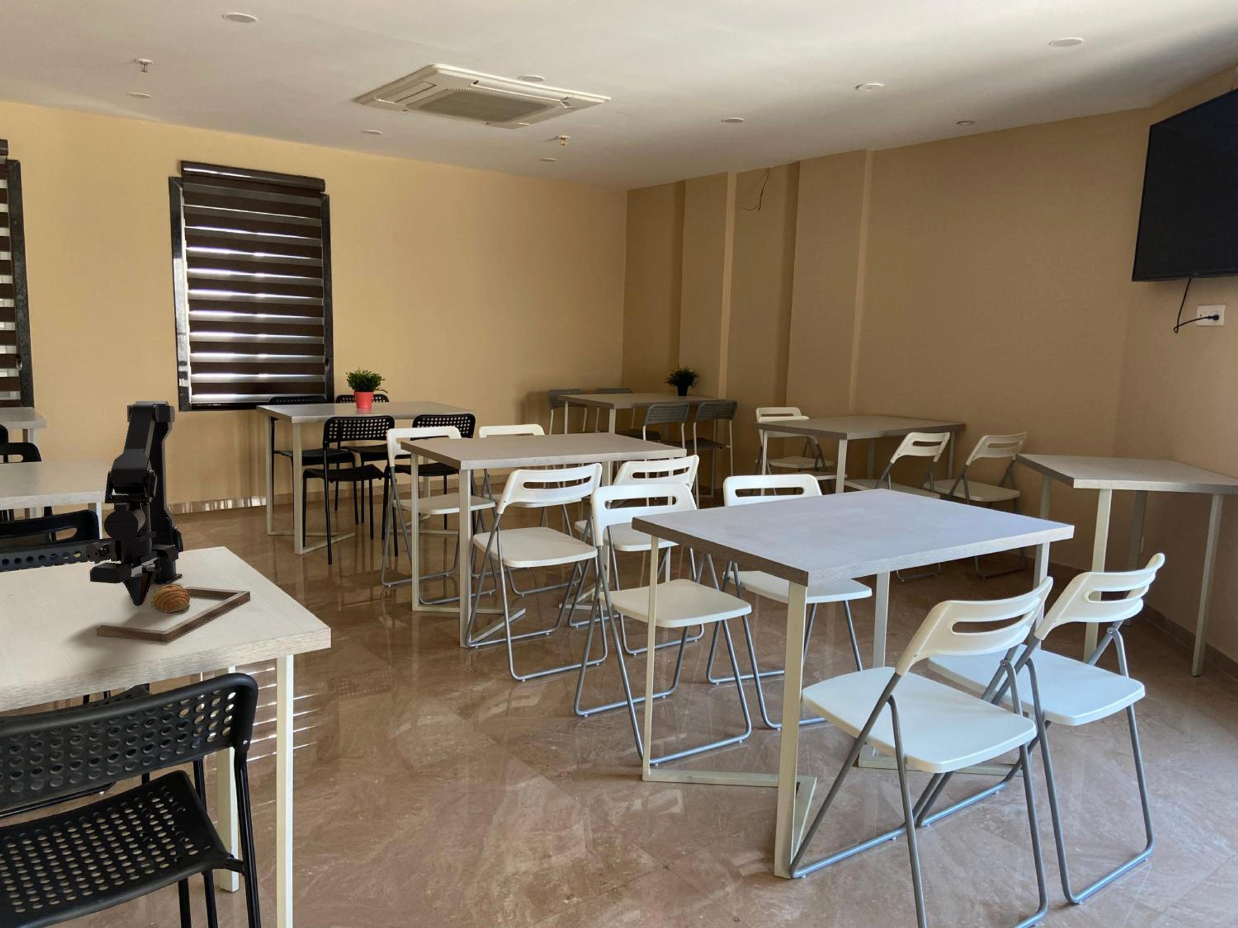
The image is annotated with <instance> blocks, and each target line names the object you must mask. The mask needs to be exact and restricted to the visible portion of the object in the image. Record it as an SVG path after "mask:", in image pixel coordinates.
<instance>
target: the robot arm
mask: <svg viewBox="0 0 1238 928" xmlns="http://www.w3.org/2000/svg"><path fill="white" fill-rule="evenodd" d="M175 411H176V410H175V406H174V405H170V403H169V401H167V400H137V401H136V400H135V403H133V404H128V405H126V416H127V417H126V418H127V419H126V422H127V423H128V427H127V433H126V436H125V437H126V438H125V442H124V447H123V451H122V454H120V455H119V456H117V457H116V458H115V459H114V460H113V462H112V466H111V468H110V470H109V471H108V472H107V477H106V485H105V492H104V493H105V494H104V495H105V496H104V504H106V505H111V504H112V505H113V510H112V511H111V512H110V513H109V514H108V515H107V516H106V518H105V519H104V523H103V529H104V532H105V533H106V535H108V537H109V538H111V542H108V543H105V544H101V543H100V542H99V541H97V542H93V543H90V544H87V545H85V557H86V559H87V560H88V561H90V562H92V561H93V562H94V565H95V566H93V567H92V568H91V569H89V572H88V573H89V582H91V583H102V584H103V583H104V584H122V583H123V585H124V587H125V588H126V590H127V593H128V595H129V596H130V599H131V600H132V602H133V604H134V606H136V607H140V606H142V605H143V603H144V601H145V600H146V597H147V595H148V593H149V590H150V589H151V586H152V584H163V585H164V584H167V583H170V582H172V581H174V580H177V579H180V578H181V577H183V573H177V565H176V564H177V563H176V561H178V560H179V556H180V555H179V553H183V552H184V551H185V550H184V547H185V546H184V539H183V534H182V531H180V529H179V527H178V526H177V524H176V522H177V521H176V517H175V516H174V514H173V513H172V512H171V510H170V508H169V507H168V500H167V499H168V498H167V471H166V446H165V445H166V442H165V441H166V440H167V438H168V437H169V435H170V434H171V432H172V430H173V423H175V419H176V412H175ZM113 492H114V494H113ZM108 560H110V562H106V561H108ZM103 561H104V562H103ZM101 562H103V563H101Z"/></svg>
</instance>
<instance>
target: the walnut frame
mask: <svg viewBox="0 0 1238 928" xmlns="http://www.w3.org/2000/svg"><path fill="white" fill-rule="evenodd" d="M183 588H184V589H186V590H187V592H188V594H189V596H190V597H202V598H203V597H204V598H213V599H215V598H216V599H224V598H228V599H224V600H223V601H220V602H218V603H217V604H214V605H213V606H210V607H209V608H206V609H205V610H202V611H200V612H199V613H196V614H195V615H192V616H190V617H189V618H186V619H184V620H182V621H180V622H178V623H176V624H175V625H172V626H171V627H170V626H169V628H167V629H164V630H159V629H150V628H149V629H148V628H138V627H127V626H116V625H104V624H101V625H99V626H97V627H96V636H97V637H106V638H117V639H118V638H120V639H128V640H129V639H130V640H139V641H140V640H141V641H151V642H164V643H168V642H169V641H171V640H173V639H175V638H177V637H179V636H181V635H183V634H184V633H187V632H189V631H190V630H192V629H194V628H197V627H198V626H200V625H202V624H204V623H205V622H208V621H210V620H212V619H213V618H215V617H217V616H219V615H221V614H223V613H225V612H227V611H228V610H230V608H231V609H232V608H235V607H236V606H238V605H240V604H242V603H244V602H246V601H248V600H249V599H248V598H250V599H251V591H250V590H239V589H238V590H237V589H226V588H216V587H215V588H214V587H213V588H212V587H202V586H200V587H199V586H191V585H190V586H186V587H183ZM247 599H248V600H247ZM245 600H246V601H245ZM243 601H244V602H243ZM241 602H242V603H241ZM239 603H240V604H239ZM235 605H236V606H235ZM226 610H227V611H226Z"/></svg>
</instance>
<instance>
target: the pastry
mask: <svg viewBox="0 0 1238 928" xmlns="http://www.w3.org/2000/svg"><path fill="white" fill-rule="evenodd" d="M184 588H185V587H181V586H180V587H179V585H176V584H167V585H163V586H162V587H160V588H158V589H157V590H156V591H155V592H154V593H153V595H152V597H151V598H152V599H151V604H152V606H153V608H155V609H157V610H158V611H160V612H162V613H169V614H170V613H173V612H176V611H177V612H178V611H185V610H186V609H187V608H188V606H190V600H191V596H189V594H188V592H187V590H186V589H184Z"/></svg>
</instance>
